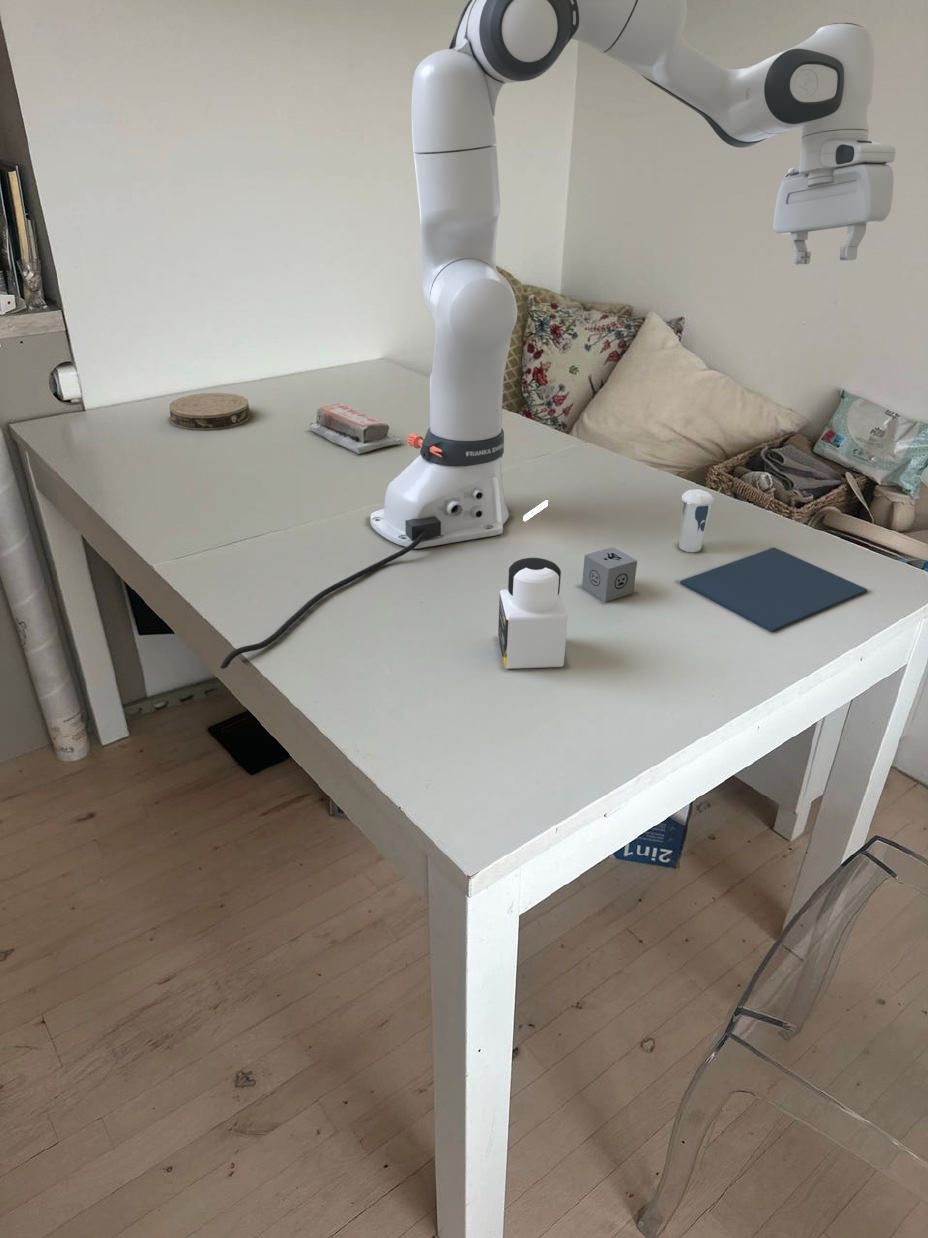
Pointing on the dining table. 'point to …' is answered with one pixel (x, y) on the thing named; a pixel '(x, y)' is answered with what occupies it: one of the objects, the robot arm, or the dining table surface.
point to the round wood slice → (209, 411)
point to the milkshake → (694, 519)
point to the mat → (773, 588)
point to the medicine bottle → (532, 616)
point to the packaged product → (352, 429)
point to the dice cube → (609, 574)
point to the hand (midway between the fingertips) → (824, 262)
